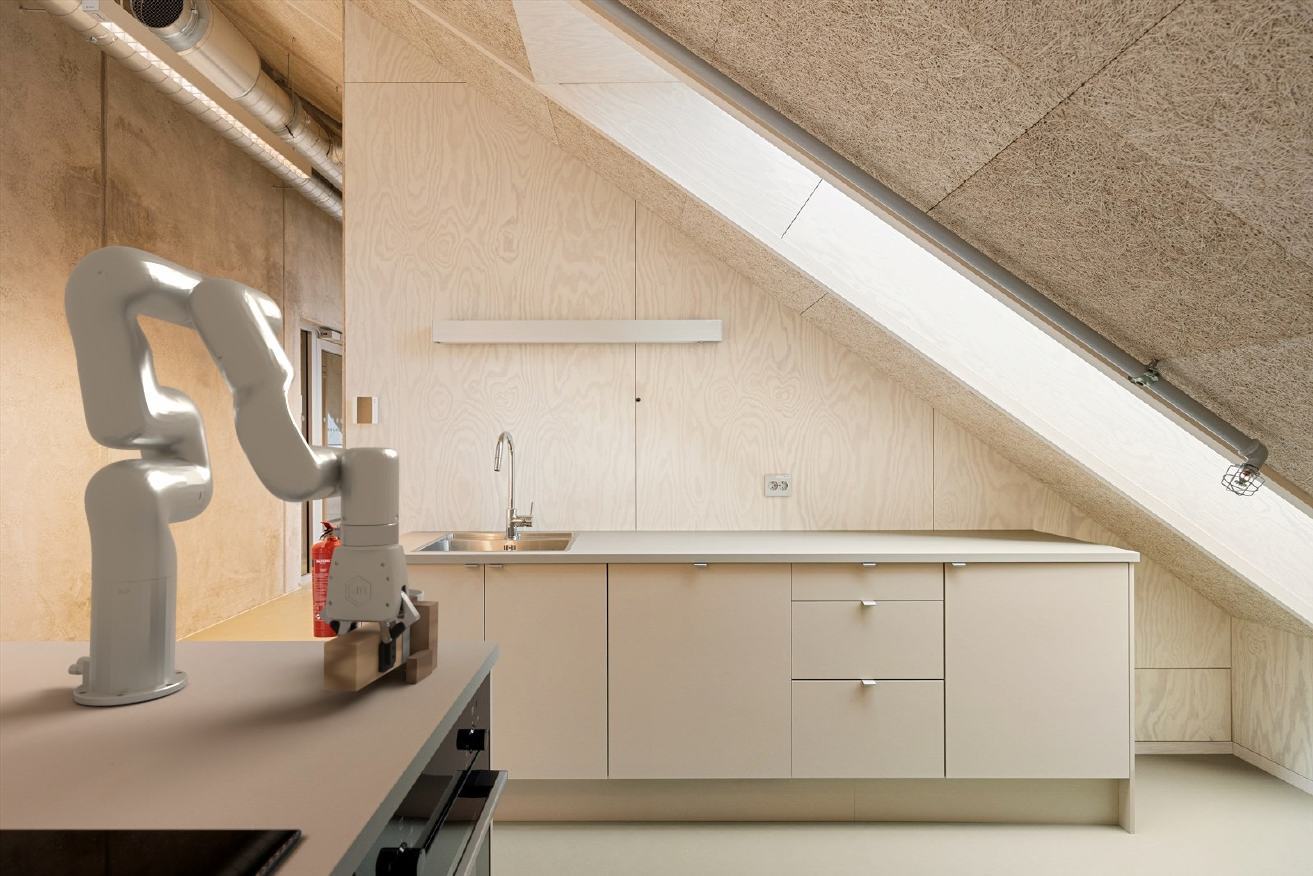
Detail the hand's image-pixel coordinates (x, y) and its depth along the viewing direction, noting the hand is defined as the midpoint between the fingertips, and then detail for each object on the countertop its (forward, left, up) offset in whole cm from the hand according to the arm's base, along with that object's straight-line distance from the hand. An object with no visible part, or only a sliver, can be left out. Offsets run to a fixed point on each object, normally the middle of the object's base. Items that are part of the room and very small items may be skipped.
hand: (368, 667), depth 100 cm
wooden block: (0, 0, -1) cm, 1 cm away
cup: (-5, +17, -4) cm, 18 cm away
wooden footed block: (0, +8, -3) cm, 9 cm away
